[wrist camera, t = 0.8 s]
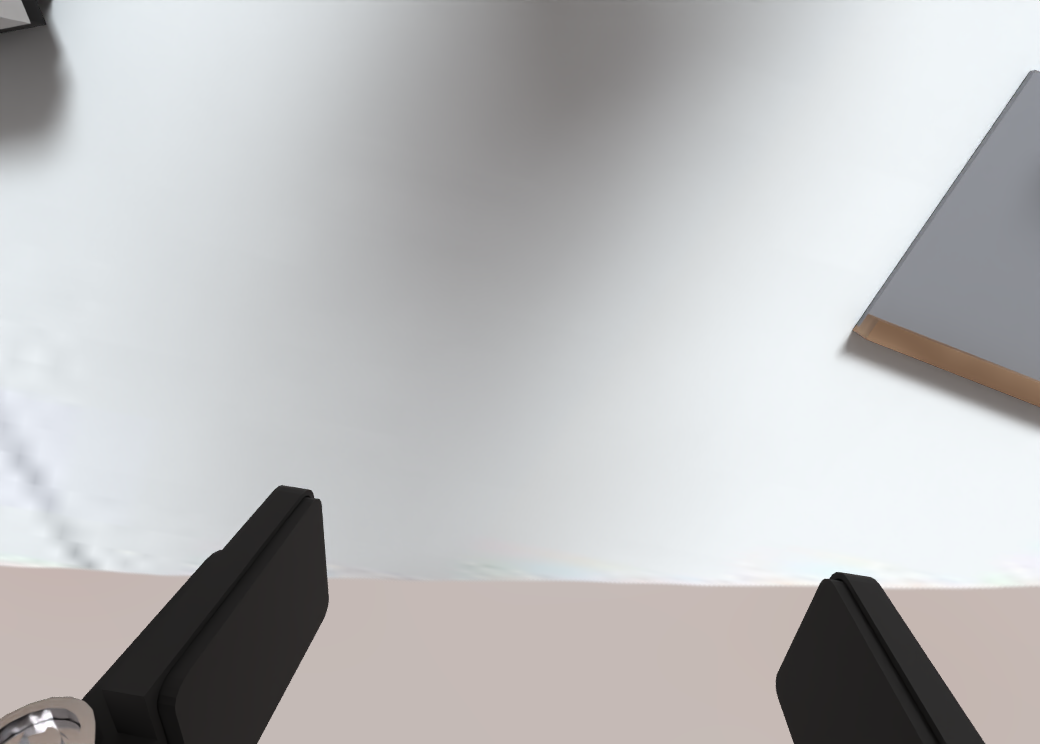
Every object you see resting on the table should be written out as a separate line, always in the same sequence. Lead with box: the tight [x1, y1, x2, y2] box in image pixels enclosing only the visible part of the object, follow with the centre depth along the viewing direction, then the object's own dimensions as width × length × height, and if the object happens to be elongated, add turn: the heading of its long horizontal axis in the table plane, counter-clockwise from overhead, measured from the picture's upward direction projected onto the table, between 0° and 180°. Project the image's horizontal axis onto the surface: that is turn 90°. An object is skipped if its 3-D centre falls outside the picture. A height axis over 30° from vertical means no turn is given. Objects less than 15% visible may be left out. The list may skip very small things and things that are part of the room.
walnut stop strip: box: [853, 314, 1040, 407], centre depth 35 cm, size 1×16×2 cm, turn 70°
